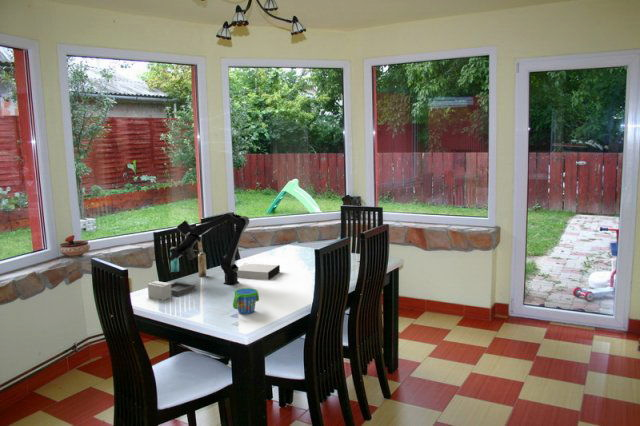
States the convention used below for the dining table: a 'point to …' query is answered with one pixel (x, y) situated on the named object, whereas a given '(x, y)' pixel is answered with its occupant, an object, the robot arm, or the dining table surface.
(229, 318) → the dining table surface
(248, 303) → the snack cup
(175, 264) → the cylinder
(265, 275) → the disc drive
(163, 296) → the block
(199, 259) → the cylinder
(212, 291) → the dining table surface
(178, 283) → the tray
